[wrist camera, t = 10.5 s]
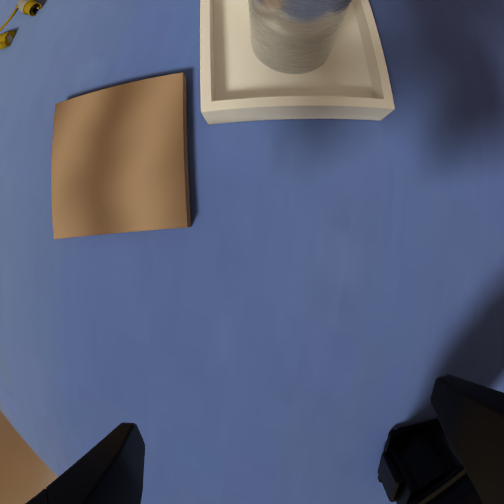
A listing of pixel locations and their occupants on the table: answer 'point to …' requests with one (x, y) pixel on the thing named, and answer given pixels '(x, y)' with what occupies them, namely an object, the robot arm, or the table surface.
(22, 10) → the extension cord
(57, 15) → the table surface
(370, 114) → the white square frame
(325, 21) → the shiny metal canister
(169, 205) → the walnut board
